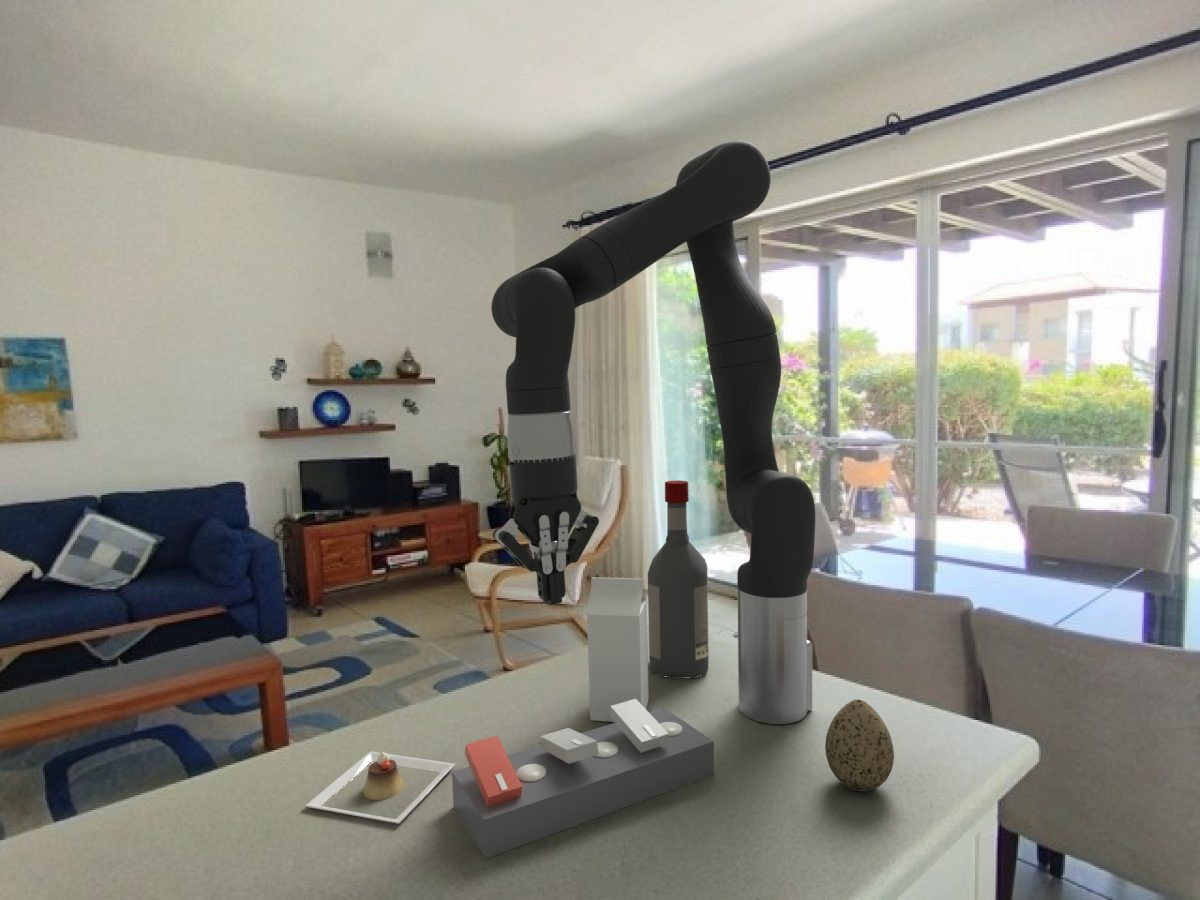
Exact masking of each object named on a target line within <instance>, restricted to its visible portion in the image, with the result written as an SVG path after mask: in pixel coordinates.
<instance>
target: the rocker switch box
mask: <svg viewBox="0 0 1200 900" xmlns="http://www.w3.org/2000/svg"><path fill="white" fill-rule="evenodd" d="M649 713H650V714H651V715H652V716H653V717H654V718H655V720H656V721H657V722H658V723H659V724H660V725H661V726H662V727H663V728H664V729H665V730H666V731H667V732H668V733H669V735H668V743H667V744H666V745H663V746H660V747H657V748H654V749H651V750H648V751H645V752H642V753H641V752H640V751H639V750H638V749H637V748H636V747H635V745H634V744H633V743H632V742H631V741H630V740H629V738H628V737H627V736H626V735H625V734H624V733H623V731H622V730H621V729H620V728H619V727H618V725H617V724H616V723H615V722H612V723H610V724H606V725H603V726H601V727H597V728H594V729H590V730H586V731H584V732H580V733H581V734H583V735H585V736H587V737H590V738H592V739H594V740H596V741H597V745H598V753H599V754H598V755H595V756H591V757H588V758H585V759H582V760H579V761H576V762H573V763H570V764H568V763H566V762H565V761H563V760H561V759H559V758H558V757H556V756H554V755H552V754H550V753H549V752H547V751H545V750H543V749H542V746H541V744H540V745H536V746H534V747H530V748H526V749H523V750H520V751H517V752H516V751H515V752H514V753H510V754H507V756H508V758H509V760H510V762H511V764H512V766H513V768H514V770H515V772H516V774H517V776H518V779H519V781H520V783H521V785H522V792H521V796H519V797H516V798H513V799H510V800H507V801H504V802H501V803H498V804H495V805H492V806H489V807H487V806H486V803H485V801H484V798H483V796H482V794H481V791H480V789H479V787H478V784H477V782H476V780H475V777H474V775H473V772H472V770H471V768H470V766H466V767H463V768H460V769H457V770H454V771H452V772H451V778H452V779H451V781H452V798H453V799H452V800H453V801H452V802H453V808H454V810H455V811H456V813H457V815H458V816H459V818H460V820H461V821H462V823H463V825H464V826H465V828H466V829H467V831H468V832H469V834H470V836H471V837H472V839H473V840H474V842H475V843H476V846H477V847H478V848H479V850H480V852H481V854H482V855H483V857H484V859H486V860H487V859H490V858H493V857H495V856H497V855H499V854H502V853H506V852H509V851H511V850H513V849H516V848H519V847H522V846H524V845H527V844H530V843H533V842H535V841H538V840H541V839H544V838H546V837H548V836H551V835H554V834H557V833H559V832H563V831H565V830H568V829H570V828H574V827H576V826H578V825H581V824H584V823H586V822H589V821H592V820H595V819H598V818H600V817H602V816H605V815H608V814H612V813H613V812H616V811H618V810H619V811H620V810H623V809H625V808H627V807H631V806H632V805H635V804H637V803H640V802H644V801H646V800H648V799H651V798H654V797H656V796H659V795H663V794H665V793H667V792H671V791H672V790H675V789H679V788H681V787H683V786H687V785H689V784H692V783H694V782H697V781H700V780H702V779H705V778H709V777H710V776H713V775H715V741H714V740H713V739H711V738H710V737H709V736H707V735H705V734H703V733H702V732H701V731H699V730H698V729H696V728H695V727H693V726H692V725H690V724H689V723H688V722H686V721H684V720H683V719H682V718H680V717H678V716H677V715H676V714H674V713H672V712H671V711H669V710H668V709H666V708H665V707H664V708H661V709H657V710H653V711H650V712H649Z"/></svg>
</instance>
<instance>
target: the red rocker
mask: <svg viewBox="0 0 1200 900" xmlns="http://www.w3.org/2000/svg"><path fill="white" fill-rule="evenodd" d="M464 755H465V758H466V761H467V762H468V765H469V767H470V768H471V770H472V772H473V775H474V777H475V780H476V782H477V784H478V787H479V789H480V791H481V794H482V796H483V798H484V801H485V803H486V806H487V807H489V806H492V805H495V804H498V803H501V802H504V801H507V800H510V799H513V798H516V797H519V796H521V792H522V785H521V783H520V781H519V779H518V776H517V774H516V772H515V770H514V768H513V766H512V764H511V762H510V760H509V758H508V756H507V755H508V754H507V751H506V750H505V748H504V746H503V744H502V742H501V740H500V737H499V735H493V736H492V737H488V738H484V739H480V740H477V741H473V742H470V743H467V744H465V749H464Z"/></svg>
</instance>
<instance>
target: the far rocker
mask: <svg viewBox="0 0 1200 900" xmlns="http://www.w3.org/2000/svg"><path fill="white" fill-rule="evenodd" d="M610 717H611V718H612V720H613V721H614V722H613V723H616V724H617V725H618V727H619V728H620V729H621V730H622V731H623V733H624V734H625V735H626V736H627V737H628V738H629V740H630V741H631V742H632V743H633V744H634V745H635V747H636V748H637V749H638V750H639V751H640V752H641V753H642V752H645V751H648V750H651V749H654V748H657V747H660V746H663V745H666V744H667V743H668V735H669V733H668V732H667V731H666V730H665V729H664V728H663V727H662V726H661V725H660V724H659V723H658V722H657V721H656V720H655V718H654V717H653V716H652V715H651V714H650V712H649V711H648V709H647V708H646V709H645V708H644V707H643V706H642V705H641V704H640V702H639V701H638V700H637V699H633V700H630V701H626V702H623V703H619V704H616V705H612V706H610Z"/></svg>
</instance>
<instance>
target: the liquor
mask: <svg viewBox="0 0 1200 900" xmlns="http://www.w3.org/2000/svg"><path fill="white" fill-rule="evenodd" d="M689 496H690V494H689V482H688V481H687V480H667V481H664V502H665V503H666V512H667V513H666V514H667V522H666V523H667V525H666V528H667V530H666V531H667V532H666V534H667V535H666V538H665V542H664V544H663V545H662V546H661V548H660V549H659V550H658V551H657V552H656V553H655V555H654V556H653V557H652V559H651V563H650V565H649V568H648V571H647V597H648V598H647V604H648V608H647V609H648V611H647V612H648V613H647V614H648V649H649V650H648V656H649V657H648V660H649V668H650V670H651V671H652V673H653V672H654V673H653V674H655V673H656V674H655V675H657V674H658V676H659V675H661V676H667V677H666V678H671V677H690V678H689V679H695V678H694V677H697V676H699V677H701V676H700V675H702V676H704V675H703V674H705V675H706V674H707V673H708V670H709V656H710V655H709V653H710V652H709V649H710V648H709V601H708V600H709V595H708V592H709V591H708V590H709V589H708V585H709V583H708V564H707V561H706V558H704V557H703V555H702V554H701V553H700V552H699V551H698V549H696V547H695V546H694V545H693V544H692V543H691V542H690V536H689V533H688V514H687V513H688V512H687V503H688V502H689V501H690V500H689V499H690V498H689ZM661 676H660V677H661ZM697 678H698V677H697Z"/></svg>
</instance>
